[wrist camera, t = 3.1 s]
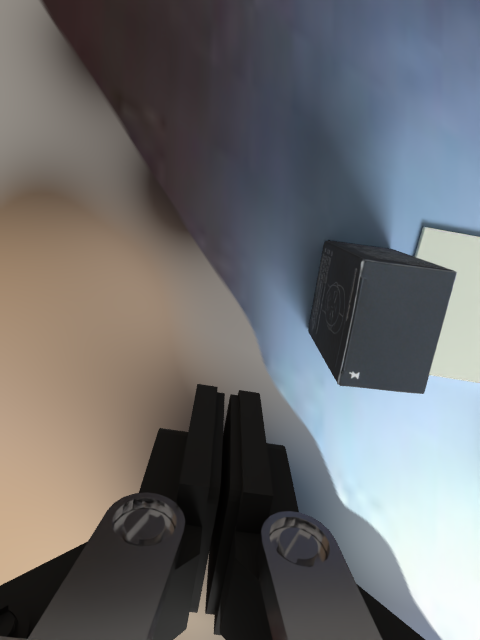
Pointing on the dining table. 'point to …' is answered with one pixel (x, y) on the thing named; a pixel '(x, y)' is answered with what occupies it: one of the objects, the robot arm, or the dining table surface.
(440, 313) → the box
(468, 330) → the mat
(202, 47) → the dining table surface
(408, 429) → the dining table surface
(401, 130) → the dining table surface
